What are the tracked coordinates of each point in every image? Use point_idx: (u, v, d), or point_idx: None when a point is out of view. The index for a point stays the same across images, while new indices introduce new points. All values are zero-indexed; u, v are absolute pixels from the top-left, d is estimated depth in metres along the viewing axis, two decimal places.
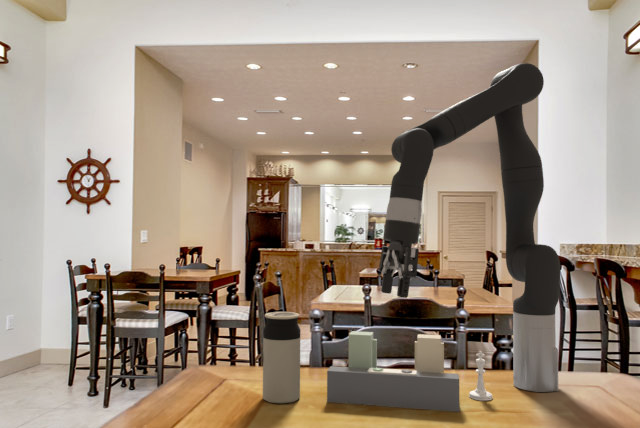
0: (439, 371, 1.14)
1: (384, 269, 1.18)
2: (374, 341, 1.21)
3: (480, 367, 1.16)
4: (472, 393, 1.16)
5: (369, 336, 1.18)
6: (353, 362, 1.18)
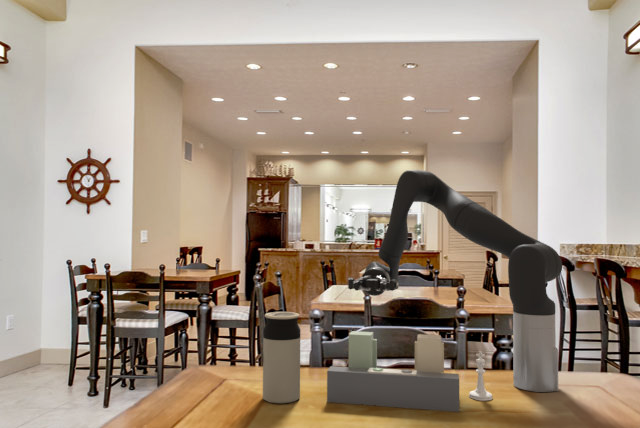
0: (439, 371, 1.14)
1: None
2: (374, 341, 1.21)
3: (480, 367, 1.16)
4: (472, 393, 1.16)
5: (369, 336, 1.18)
6: (353, 362, 1.18)
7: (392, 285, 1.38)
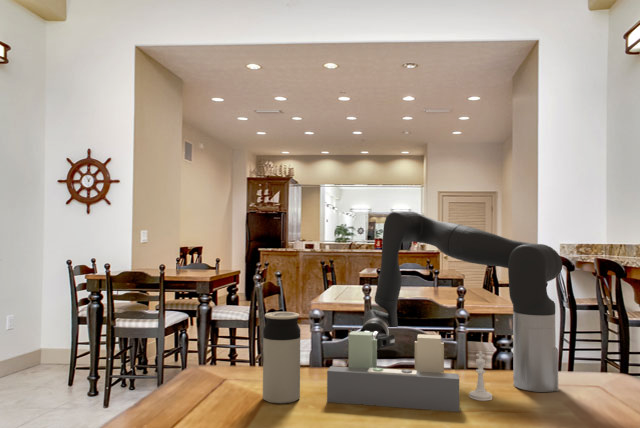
0: (439, 371, 1.14)
1: None
2: (374, 341, 1.21)
3: (480, 367, 1.16)
4: (472, 393, 1.16)
5: (369, 336, 1.18)
6: (353, 362, 1.18)
7: (380, 343, 1.35)
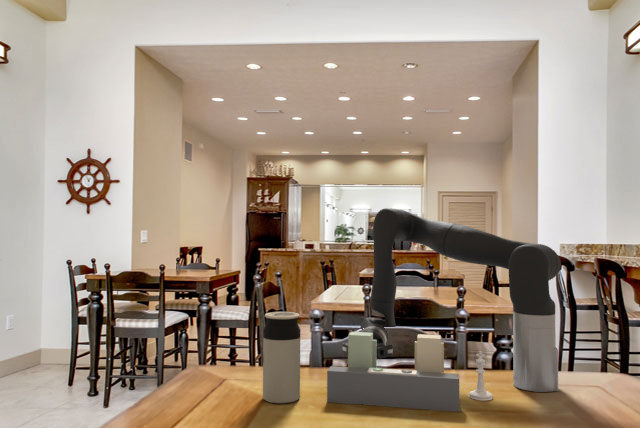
0: (439, 371, 1.14)
1: None
2: (374, 342, 1.21)
3: (480, 367, 1.16)
4: (472, 393, 1.16)
5: (369, 337, 1.17)
6: (353, 363, 1.17)
7: None
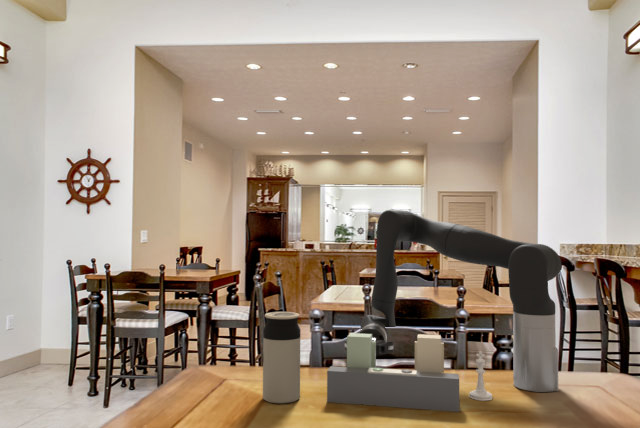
0: (439, 371, 1.14)
1: None
2: (373, 343, 1.19)
3: (480, 367, 1.16)
4: (472, 393, 1.16)
5: (368, 338, 1.15)
6: (352, 365, 1.16)
7: (378, 350, 1.30)
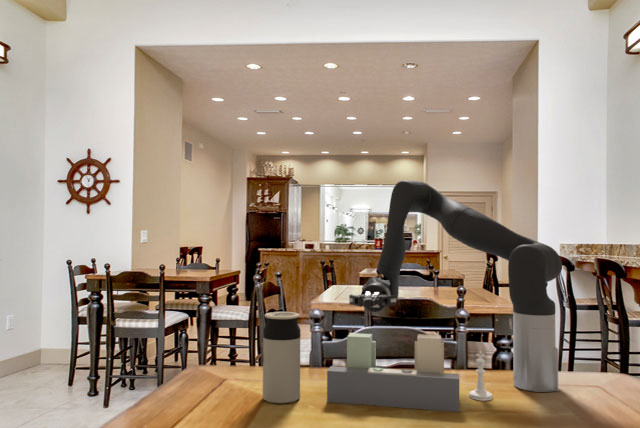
0: (439, 371, 1.14)
1: None
2: (373, 343, 1.19)
3: (480, 367, 1.16)
4: (472, 393, 1.16)
5: (368, 338, 1.15)
6: (352, 365, 1.16)
7: (381, 301, 1.35)
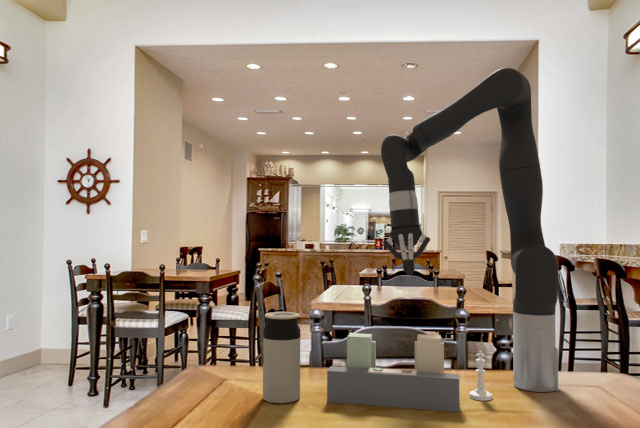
0: (439, 371, 1.14)
1: None
2: (373, 343, 1.19)
3: (480, 367, 1.16)
4: (472, 393, 1.16)
5: (368, 338, 1.15)
6: (352, 365, 1.16)
7: None
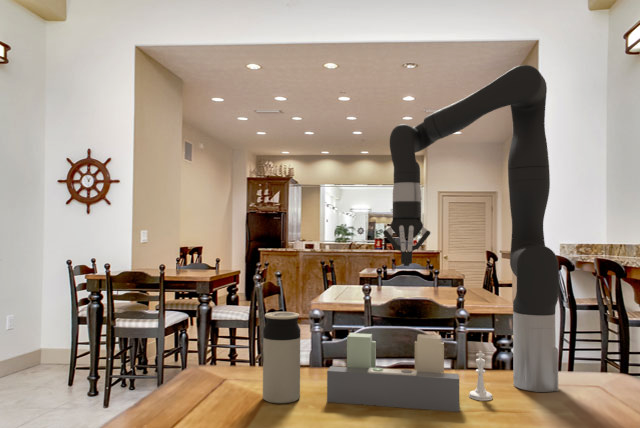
0: (439, 371, 1.14)
1: None
2: (373, 343, 1.19)
3: (480, 367, 1.16)
4: (472, 393, 1.16)
5: (368, 338, 1.15)
6: (352, 365, 1.16)
7: None
